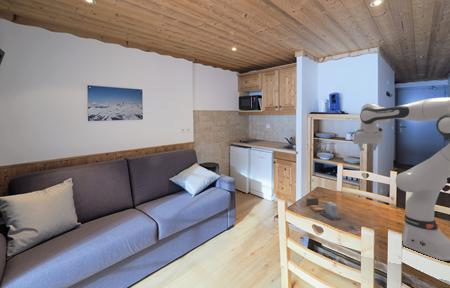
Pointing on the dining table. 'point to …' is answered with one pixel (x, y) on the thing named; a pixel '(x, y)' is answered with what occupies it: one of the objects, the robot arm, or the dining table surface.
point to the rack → (314, 202)
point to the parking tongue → (329, 216)
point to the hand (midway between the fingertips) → (367, 150)
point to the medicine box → (331, 209)
